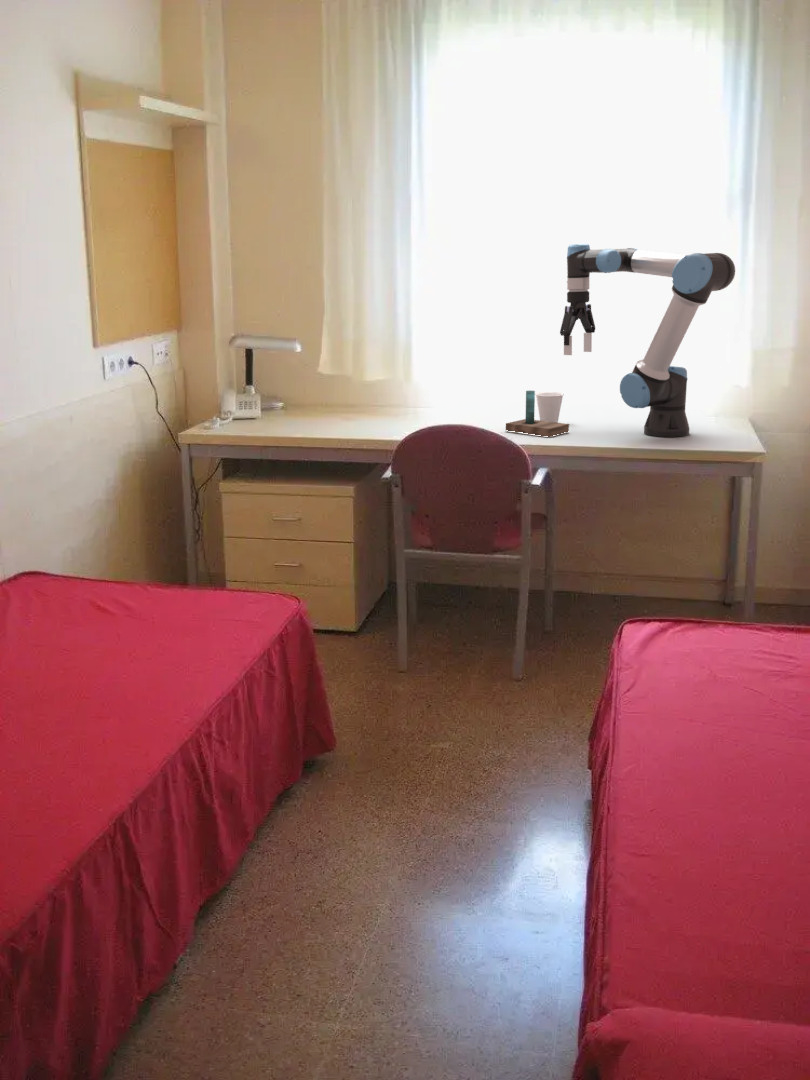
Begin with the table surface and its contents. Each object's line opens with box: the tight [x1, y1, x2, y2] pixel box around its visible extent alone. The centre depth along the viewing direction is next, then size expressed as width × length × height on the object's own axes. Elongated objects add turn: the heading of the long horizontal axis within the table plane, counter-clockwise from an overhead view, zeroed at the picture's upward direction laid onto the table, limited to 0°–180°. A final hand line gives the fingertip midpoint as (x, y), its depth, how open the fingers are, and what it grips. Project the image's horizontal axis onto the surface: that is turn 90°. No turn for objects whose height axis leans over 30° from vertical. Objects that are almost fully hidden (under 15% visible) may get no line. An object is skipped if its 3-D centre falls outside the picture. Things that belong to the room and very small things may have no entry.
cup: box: [535, 391, 564, 423], centre depth 411 cm, size 10×10×11 cm
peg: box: [525, 390, 536, 424], centre depth 397 cm, size 3×3×14 cm
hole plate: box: [505, 418, 570, 438], centre depth 397 cm, size 18×12×3 cm, turn 49°
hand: (577, 353), depth 398 cm, fingers open, 13 cm apart
